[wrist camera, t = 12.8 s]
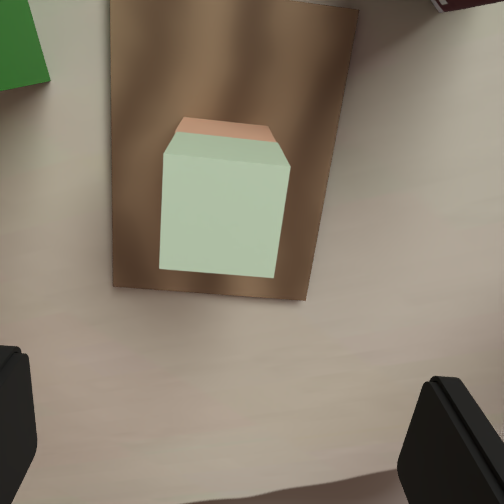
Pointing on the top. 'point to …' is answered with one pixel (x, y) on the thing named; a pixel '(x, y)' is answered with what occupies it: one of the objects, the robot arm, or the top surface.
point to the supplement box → (459, 4)
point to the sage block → (222, 205)
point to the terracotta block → (225, 129)
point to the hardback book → (19, 47)
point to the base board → (223, 119)
